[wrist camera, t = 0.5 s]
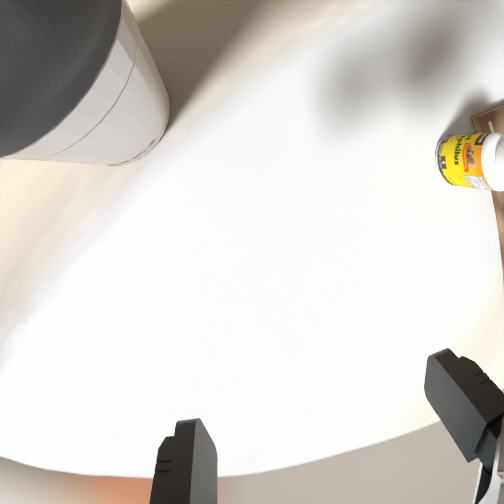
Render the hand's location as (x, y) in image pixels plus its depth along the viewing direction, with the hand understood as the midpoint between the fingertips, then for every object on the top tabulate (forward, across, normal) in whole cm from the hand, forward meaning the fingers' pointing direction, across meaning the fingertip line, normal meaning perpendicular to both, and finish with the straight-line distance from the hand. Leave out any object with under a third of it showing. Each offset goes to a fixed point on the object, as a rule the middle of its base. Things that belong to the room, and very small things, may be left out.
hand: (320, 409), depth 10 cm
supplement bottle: (+22, -22, -3) cm, 32 cm away
